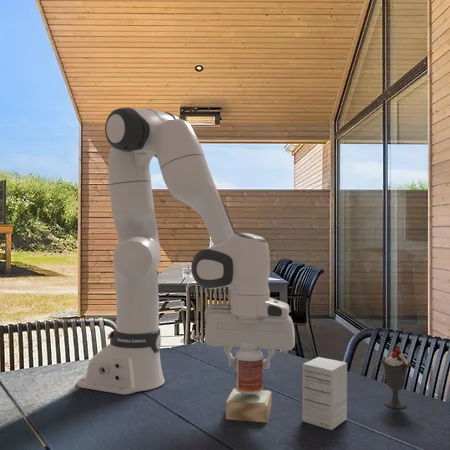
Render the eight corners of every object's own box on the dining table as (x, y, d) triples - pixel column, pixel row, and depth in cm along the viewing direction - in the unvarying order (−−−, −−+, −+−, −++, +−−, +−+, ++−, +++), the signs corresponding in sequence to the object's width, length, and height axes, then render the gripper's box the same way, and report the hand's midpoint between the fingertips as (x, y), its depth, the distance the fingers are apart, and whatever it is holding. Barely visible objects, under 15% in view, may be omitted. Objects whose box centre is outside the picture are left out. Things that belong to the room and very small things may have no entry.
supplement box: (317, 411, 113) (318, 356, 113) (347, 420, 108) (348, 362, 108) (300, 421, 107) (301, 363, 107) (332, 431, 102) (332, 370, 102)
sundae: (391, 411, 113) (392, 346, 113) (375, 401, 119) (375, 339, 119) (416, 409, 115) (417, 344, 114) (398, 398, 121) (399, 337, 121)
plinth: (225, 419, 108) (226, 400, 108) (233, 404, 117) (233, 387, 117) (267, 422, 106) (267, 404, 106) (271, 407, 115) (271, 390, 115)
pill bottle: (268, 392, 111) (269, 342, 111) (245, 397, 107) (246, 346, 107) (251, 384, 116) (252, 336, 116) (229, 388, 112) (230, 340, 112)
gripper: (201, 305, 110) (200, 367, 110) (294, 310, 106) (293, 374, 106) (208, 301, 116) (207, 360, 117) (295, 305, 113) (295, 366, 113)
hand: (249, 367), depth 112 cm, fingers closed on pill bottle, 6 cm apart
